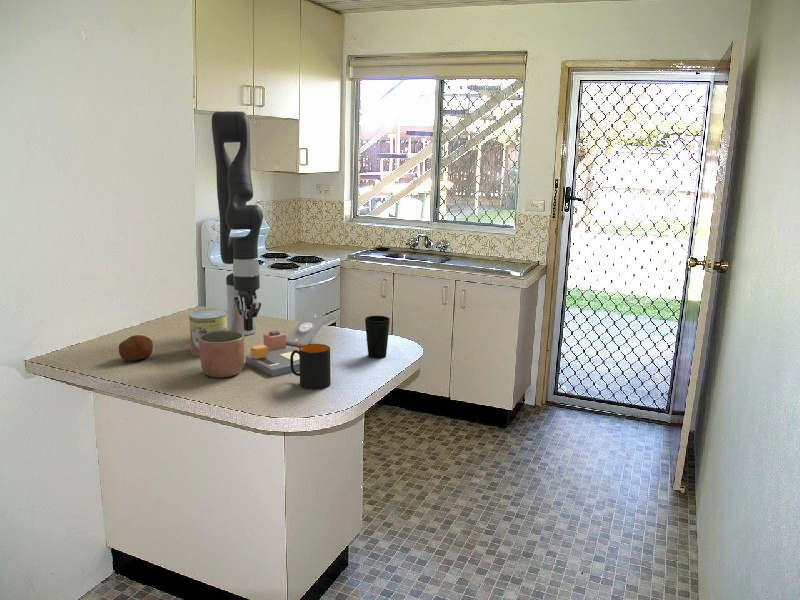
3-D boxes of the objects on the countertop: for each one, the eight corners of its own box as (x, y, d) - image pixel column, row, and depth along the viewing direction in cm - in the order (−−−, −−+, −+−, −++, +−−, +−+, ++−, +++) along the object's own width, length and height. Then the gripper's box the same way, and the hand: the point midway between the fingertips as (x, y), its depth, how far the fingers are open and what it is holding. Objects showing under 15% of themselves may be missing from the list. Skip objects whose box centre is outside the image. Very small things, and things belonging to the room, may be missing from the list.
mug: (299, 375, 190) (298, 340, 188) (336, 382, 185) (335, 346, 183) (282, 384, 183) (281, 348, 180) (320, 391, 178) (319, 354, 176)
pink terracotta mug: (223, 363, 200) (221, 328, 197) (254, 371, 194) (253, 334, 191) (190, 375, 189) (188, 338, 187) (223, 383, 183) (221, 345, 181)
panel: (245, 362, 201) (245, 355, 200) (292, 352, 211) (291, 346, 210) (272, 376, 189) (272, 369, 188) (320, 365, 199) (320, 358, 199)
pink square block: (264, 352, 211) (263, 331, 210) (277, 349, 214) (277, 328, 213) (272, 356, 208) (271, 334, 206) (286, 353, 211) (285, 332, 209)
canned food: (183, 354, 208) (181, 316, 206) (203, 344, 219) (201, 308, 216) (216, 357, 205) (214, 319, 203) (234, 347, 216) (233, 311, 213)
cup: (359, 355, 209) (359, 318, 206) (377, 350, 214) (377, 314, 212) (377, 361, 204) (377, 323, 201) (394, 356, 209) (395, 318, 206)
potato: (112, 361, 200) (110, 337, 198) (141, 352, 209) (139, 329, 208) (131, 366, 196) (129, 341, 194) (160, 357, 205) (159, 333, 204)
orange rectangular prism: (250, 356, 199) (250, 346, 198) (263, 354, 201) (262, 344, 201) (255, 359, 196) (255, 349, 196) (268, 356, 199) (267, 346, 198)
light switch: (282, 339, 220) (306, 310, 229) (288, 352, 223) (311, 323, 233) (303, 343, 216) (326, 314, 225) (309, 356, 219) (331, 327, 228)
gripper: (224, 271, 201) (226, 328, 204) (245, 277, 191) (247, 336, 194) (247, 269, 205) (249, 324, 209) (268, 275, 195) (270, 332, 199)
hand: (248, 330), depth 202 cm, fingers closed
